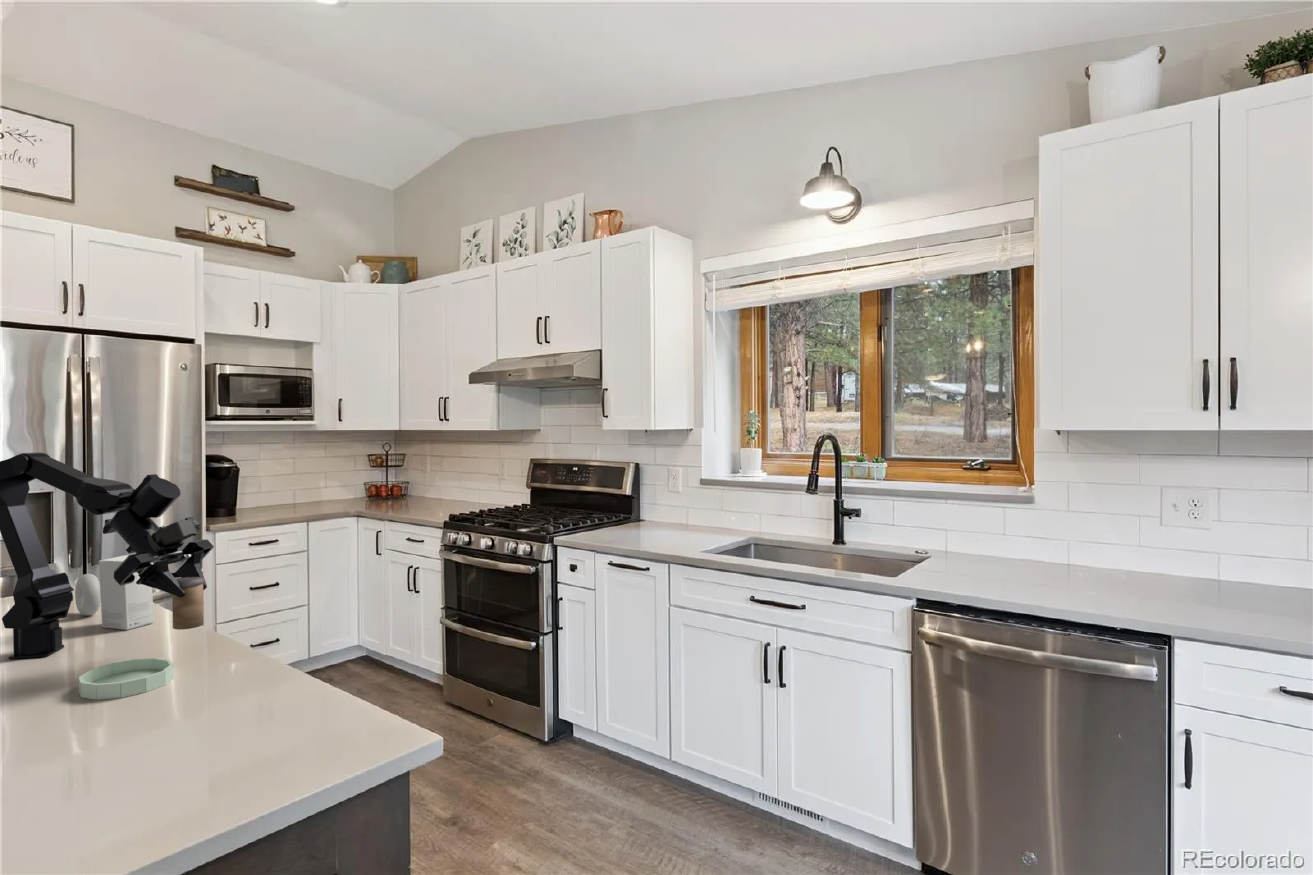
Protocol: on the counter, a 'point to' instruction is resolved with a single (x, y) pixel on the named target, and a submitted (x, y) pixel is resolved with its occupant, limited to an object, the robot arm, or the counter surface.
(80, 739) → the counter surface
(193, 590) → the walnut spice jar
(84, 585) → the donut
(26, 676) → the counter surface
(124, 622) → the skincare box
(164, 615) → the counter surface
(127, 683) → the sage green dish
